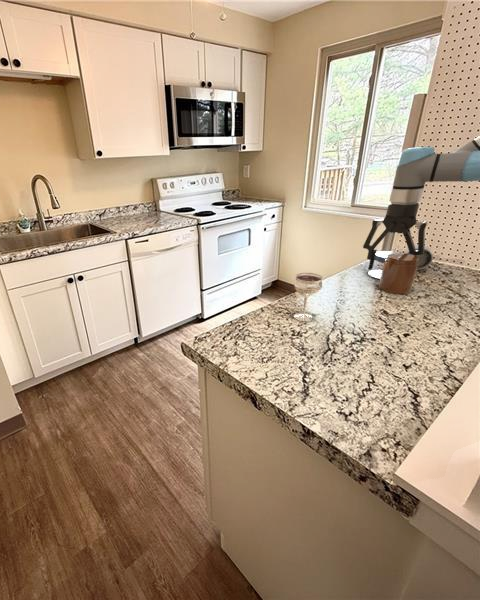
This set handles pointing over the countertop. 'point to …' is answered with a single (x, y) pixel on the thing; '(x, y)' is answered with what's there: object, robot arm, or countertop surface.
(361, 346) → the countertop surface
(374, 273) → the coaster
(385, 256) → the jar lid
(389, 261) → the jam jar
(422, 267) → the ceramic mug
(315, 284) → the wineglass
